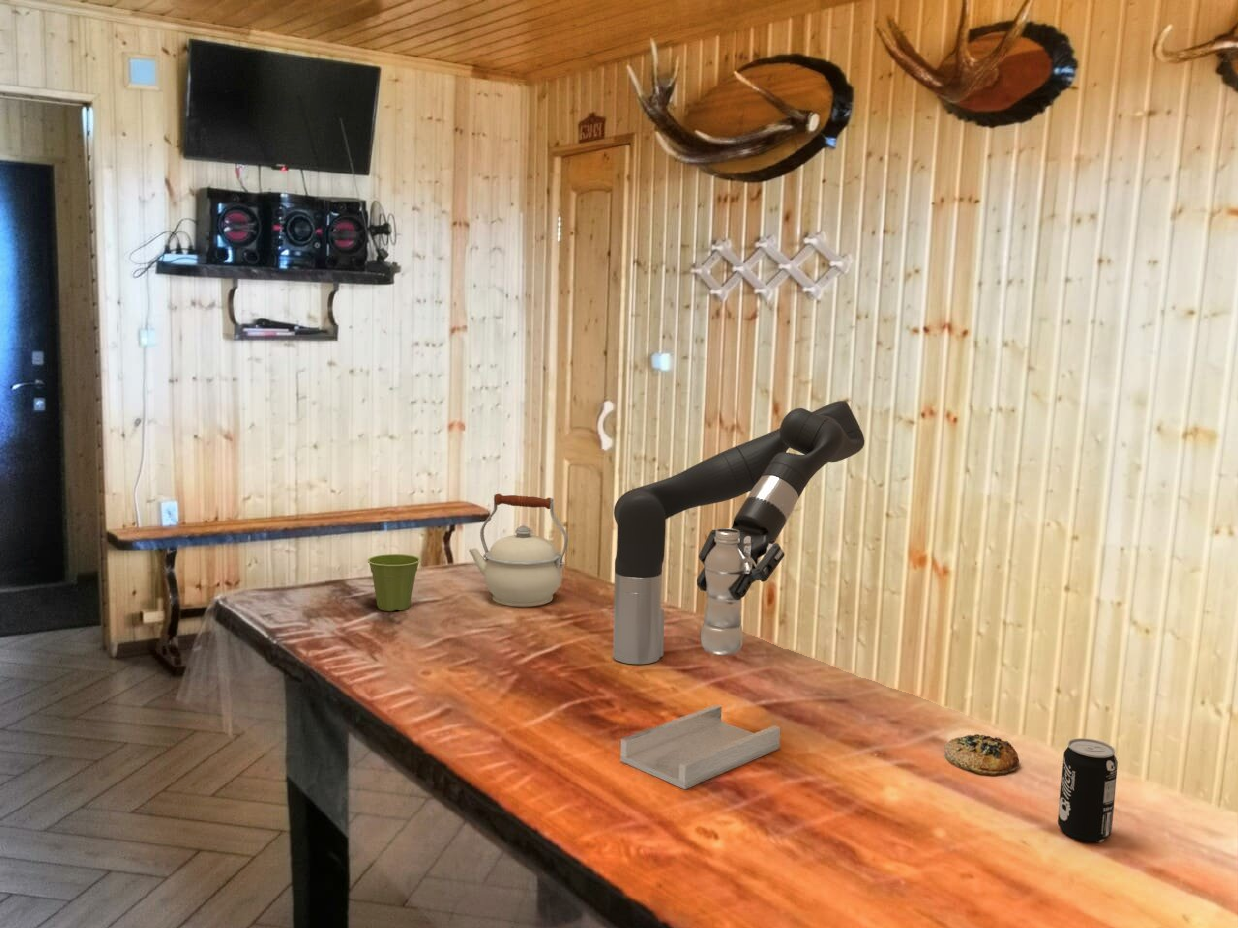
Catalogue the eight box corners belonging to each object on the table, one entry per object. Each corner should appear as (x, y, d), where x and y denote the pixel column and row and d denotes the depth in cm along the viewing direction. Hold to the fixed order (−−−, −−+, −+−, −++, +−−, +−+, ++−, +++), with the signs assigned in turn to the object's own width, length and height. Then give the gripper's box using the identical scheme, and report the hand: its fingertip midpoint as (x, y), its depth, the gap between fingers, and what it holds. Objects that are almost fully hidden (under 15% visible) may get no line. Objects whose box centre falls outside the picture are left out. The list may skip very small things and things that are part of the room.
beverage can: (1048, 821, 146) (1055, 737, 144) (1094, 820, 146) (1102, 736, 145) (1072, 845, 139) (1080, 757, 138) (1121, 844, 140) (1129, 756, 138)
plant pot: (415, 615, 239) (414, 565, 237) (362, 614, 239) (361, 564, 238) (425, 601, 251) (425, 554, 249) (374, 600, 251) (374, 552, 249)
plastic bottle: (740, 661, 168) (748, 536, 165) (697, 657, 169) (704, 533, 166) (743, 648, 174) (750, 528, 171) (701, 644, 175) (708, 524, 172)
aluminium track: (715, 724, 178) (716, 704, 178) (779, 748, 169) (780, 727, 168) (620, 761, 163) (620, 738, 162) (684, 789, 153) (685, 766, 153)
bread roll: (1022, 754, 168) (1022, 725, 167) (1014, 790, 159) (1015, 760, 157) (948, 743, 173) (948, 715, 172) (937, 778, 163) (937, 749, 162)
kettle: (579, 594, 259) (581, 493, 256) (550, 614, 242) (551, 505, 238) (486, 584, 267) (486, 485, 264) (451, 602, 250) (451, 497, 246)
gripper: (811, 531, 173) (763, 616, 166) (740, 516, 183) (692, 596, 176) (794, 502, 168) (744, 588, 161) (722, 489, 178) (672, 569, 171)
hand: (717, 592), depth 169 cm, fingers closed on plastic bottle, 6 cm apart
